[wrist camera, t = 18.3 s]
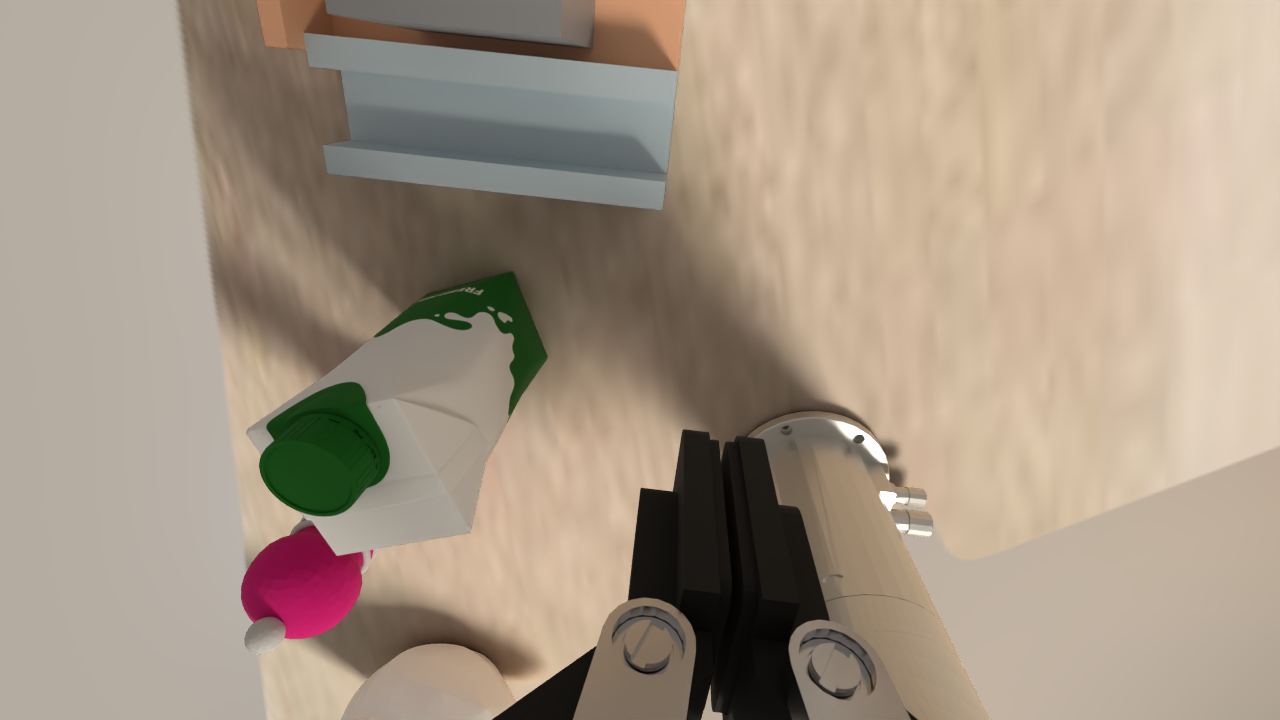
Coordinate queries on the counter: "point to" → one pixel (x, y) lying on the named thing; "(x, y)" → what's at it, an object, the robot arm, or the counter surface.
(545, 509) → the counter surface
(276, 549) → the pepper mill
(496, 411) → the milk carton
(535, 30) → the panel
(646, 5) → the rack
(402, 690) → the decorative rooster
